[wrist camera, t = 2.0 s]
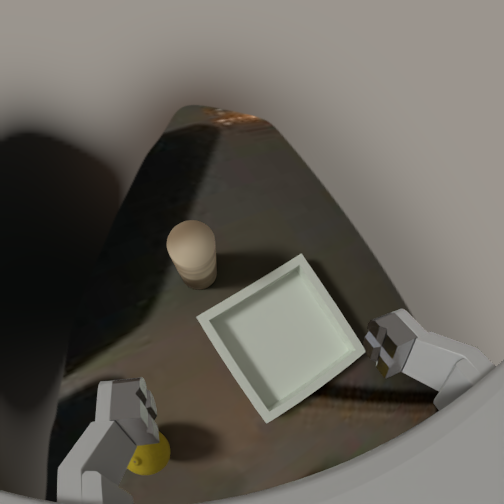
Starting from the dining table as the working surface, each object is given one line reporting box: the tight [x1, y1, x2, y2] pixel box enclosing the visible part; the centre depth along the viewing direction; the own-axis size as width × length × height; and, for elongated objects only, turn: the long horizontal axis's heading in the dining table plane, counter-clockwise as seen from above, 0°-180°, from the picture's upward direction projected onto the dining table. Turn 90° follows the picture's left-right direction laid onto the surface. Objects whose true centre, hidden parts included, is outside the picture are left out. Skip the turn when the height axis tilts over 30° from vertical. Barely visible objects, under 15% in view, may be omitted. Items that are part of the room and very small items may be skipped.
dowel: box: [167, 220, 217, 290], centre depth 31 cm, size 4×4×10 cm
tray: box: [197, 254, 365, 424], centre depth 33 cm, size 14×14×3 cm
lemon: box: [127, 432, 170, 475], centre depth 25 cm, size 6×6×8 cm
